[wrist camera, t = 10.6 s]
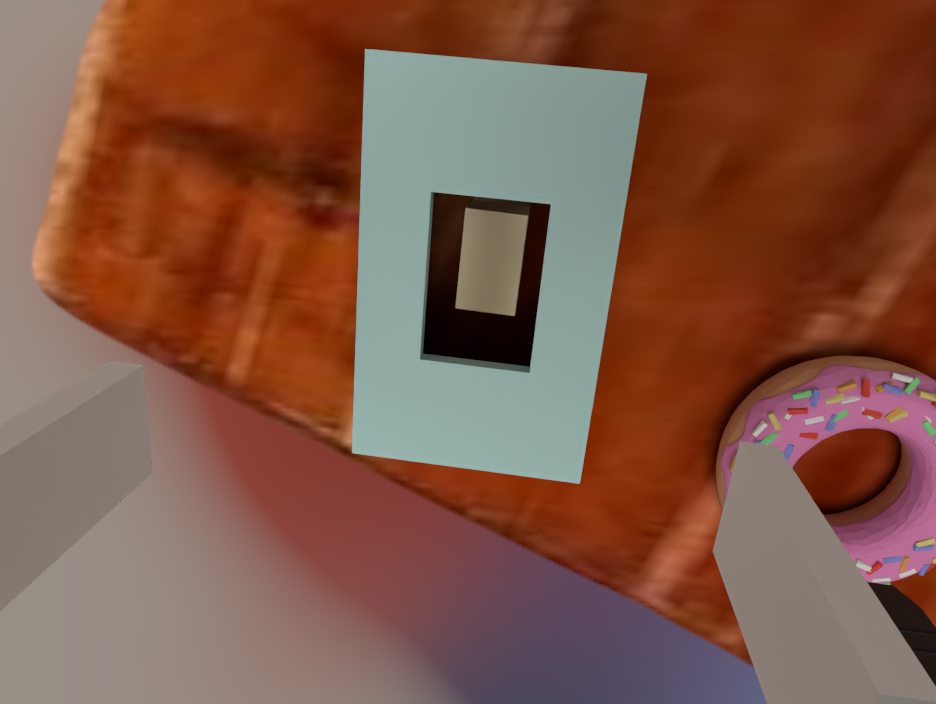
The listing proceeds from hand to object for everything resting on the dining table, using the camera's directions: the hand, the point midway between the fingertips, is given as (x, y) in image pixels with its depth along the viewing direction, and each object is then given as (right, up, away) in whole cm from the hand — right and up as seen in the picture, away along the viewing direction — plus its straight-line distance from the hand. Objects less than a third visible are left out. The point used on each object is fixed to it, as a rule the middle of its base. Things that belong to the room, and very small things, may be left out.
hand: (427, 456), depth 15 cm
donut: (+23, -4, +28) cm, 36 cm away
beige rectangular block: (+3, +9, +25) cm, 27 cm away
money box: (+3, +9, +25) cm, 27 cm away
